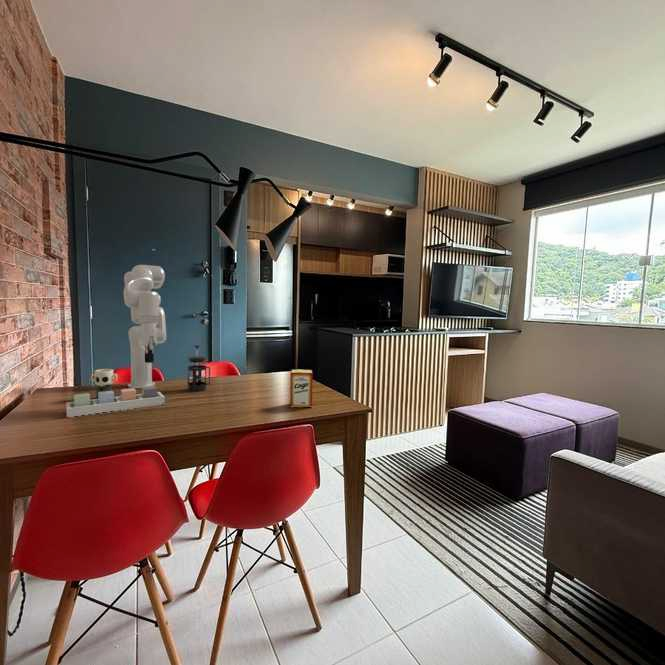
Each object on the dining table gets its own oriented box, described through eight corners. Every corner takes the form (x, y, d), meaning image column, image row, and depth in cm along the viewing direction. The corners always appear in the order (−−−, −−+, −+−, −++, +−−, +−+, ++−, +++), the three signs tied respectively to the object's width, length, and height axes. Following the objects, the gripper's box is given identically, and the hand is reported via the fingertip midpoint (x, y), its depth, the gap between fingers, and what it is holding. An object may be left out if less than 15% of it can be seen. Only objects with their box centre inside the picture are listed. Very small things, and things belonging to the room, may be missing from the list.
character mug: (87, 400, 155) (86, 371, 154) (95, 396, 162) (94, 368, 161) (114, 400, 157) (113, 371, 156) (120, 396, 164) (120, 368, 163)
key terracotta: (120, 398, 149) (120, 389, 149) (134, 397, 152) (134, 388, 152) (122, 401, 145) (122, 392, 145) (136, 399, 148) (136, 390, 148)
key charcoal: (142, 396, 154) (142, 387, 154) (154, 394, 157) (154, 385, 157) (144, 398, 150) (144, 389, 150) (157, 397, 153) (157, 388, 153)
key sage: (74, 404, 139) (73, 394, 139) (89, 402, 142) (89, 392, 142) (74, 407, 135) (74, 397, 135) (90, 405, 139) (90, 395, 138)
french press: (183, 391, 175) (183, 346, 173) (189, 387, 184) (189, 343, 183) (207, 392, 176) (207, 346, 174) (212, 387, 185) (212, 344, 184)
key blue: (98, 401, 144) (98, 391, 144) (112, 399, 147) (112, 390, 147) (99, 404, 140) (99, 394, 140) (114, 402, 143) (113, 392, 143)
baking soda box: (311, 403, 161) (312, 369, 160) (311, 408, 154) (312, 372, 153) (290, 403, 160) (291, 369, 159) (290, 408, 153) (290, 371, 152)
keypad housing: (66, 411, 140) (66, 402, 140) (159, 399, 161) (159, 391, 161) (66, 418, 132) (66, 408, 132) (164, 404, 153) (164, 396, 153)
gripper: (135, 319, 155) (136, 360, 156) (142, 320, 143) (142, 365, 144) (154, 319, 159) (155, 359, 161) (162, 320, 147) (162, 364, 149)
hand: (149, 362), depth 152 cm, fingers closed
